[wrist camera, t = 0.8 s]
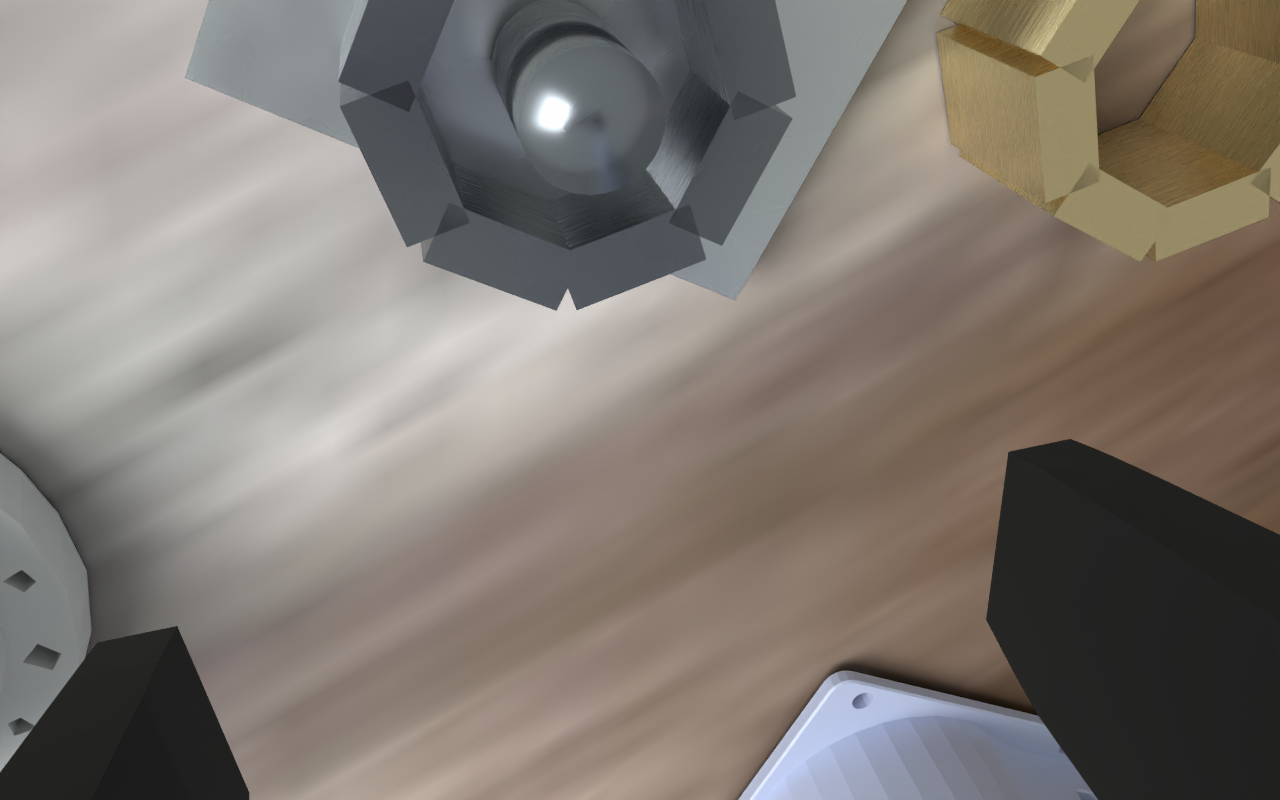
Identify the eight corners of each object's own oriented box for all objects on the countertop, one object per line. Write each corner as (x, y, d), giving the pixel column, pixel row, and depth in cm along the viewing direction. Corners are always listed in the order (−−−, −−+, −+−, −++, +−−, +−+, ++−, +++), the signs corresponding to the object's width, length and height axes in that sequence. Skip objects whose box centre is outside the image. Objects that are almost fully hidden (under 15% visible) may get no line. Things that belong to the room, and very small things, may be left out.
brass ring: (1304, -50, 18) (1458, -21, 15) (1104, 233, 20) (1211, 299, 17) (1082, -226, 16) (1219, -225, 13) (881, 114, 18) (967, 170, 15)
